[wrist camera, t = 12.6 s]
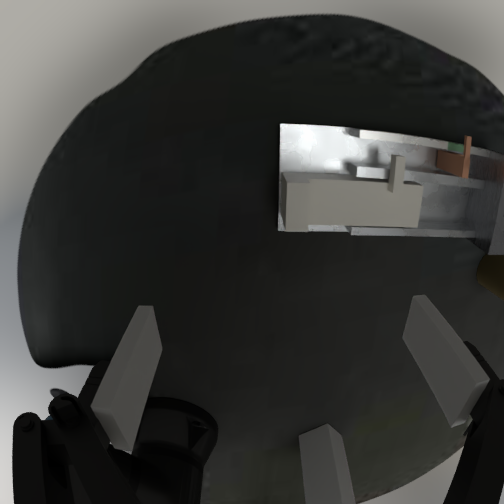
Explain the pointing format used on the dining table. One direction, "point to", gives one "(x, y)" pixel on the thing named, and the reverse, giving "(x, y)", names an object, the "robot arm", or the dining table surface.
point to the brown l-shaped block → (456, 160)
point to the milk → (325, 467)
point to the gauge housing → (416, 169)
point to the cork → (492, 274)
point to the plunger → (350, 199)
